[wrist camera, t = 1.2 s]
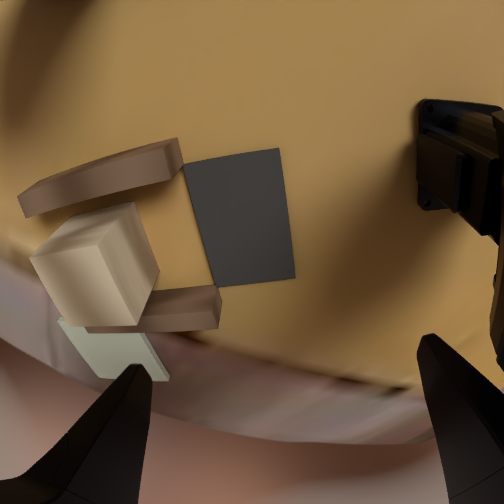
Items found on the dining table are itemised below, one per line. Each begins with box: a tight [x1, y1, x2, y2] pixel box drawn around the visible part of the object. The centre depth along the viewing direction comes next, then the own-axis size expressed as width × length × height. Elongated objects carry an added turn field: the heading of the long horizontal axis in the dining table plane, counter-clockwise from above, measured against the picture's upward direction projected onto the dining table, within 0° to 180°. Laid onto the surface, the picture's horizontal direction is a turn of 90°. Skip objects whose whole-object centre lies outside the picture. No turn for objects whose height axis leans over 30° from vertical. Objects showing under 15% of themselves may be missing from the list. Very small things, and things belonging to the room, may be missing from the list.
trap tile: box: [183, 148, 296, 287], centre depth 17 cm, size 5×8×1 cm, turn 10°
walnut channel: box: [17, 138, 222, 334], centre depth 17 cm, size 10×11×2 cm
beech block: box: [30, 201, 160, 327], centre depth 16 cm, size 5×5×5 cm
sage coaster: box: [57, 317, 170, 381], centre depth 24 cm, size 8×8×1 cm
